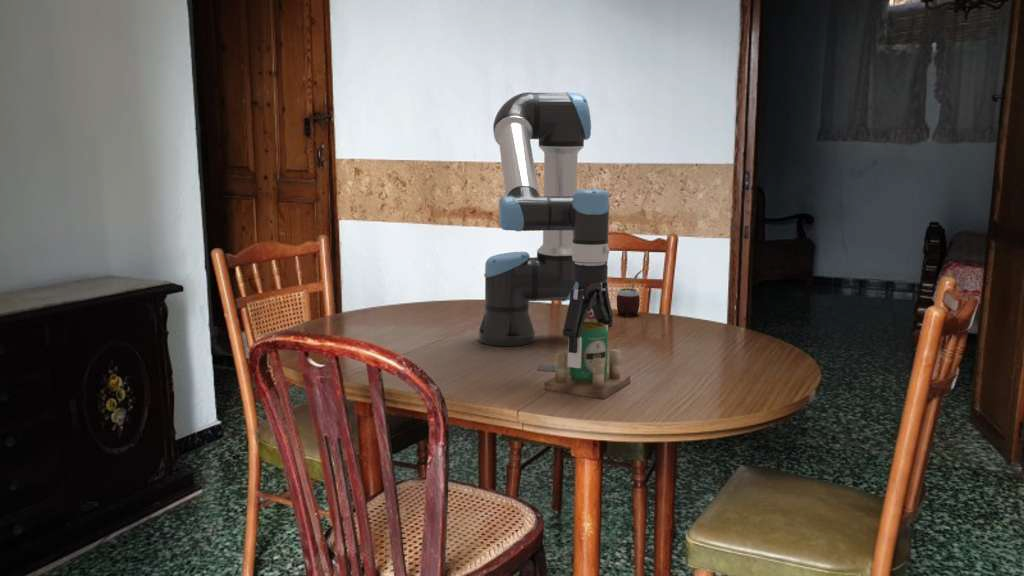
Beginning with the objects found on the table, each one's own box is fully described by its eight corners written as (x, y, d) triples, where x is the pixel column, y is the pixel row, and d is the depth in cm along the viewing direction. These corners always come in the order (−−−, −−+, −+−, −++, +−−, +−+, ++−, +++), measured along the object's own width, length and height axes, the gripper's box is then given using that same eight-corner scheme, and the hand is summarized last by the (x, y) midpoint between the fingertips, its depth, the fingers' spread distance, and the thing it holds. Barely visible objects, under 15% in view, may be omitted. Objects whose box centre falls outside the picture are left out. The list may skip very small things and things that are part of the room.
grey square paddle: (537, 372, 195) (537, 367, 194) (540, 367, 199) (540, 362, 198) (599, 376, 191) (599, 371, 191) (601, 371, 195) (601, 366, 195)
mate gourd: (616, 313, 262) (617, 265, 259) (642, 313, 261) (643, 265, 258) (615, 317, 255) (617, 268, 252) (642, 318, 253) (643, 269, 251)
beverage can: (580, 385, 178) (581, 330, 176) (563, 376, 185) (564, 322, 183) (613, 381, 181) (614, 327, 179) (595, 372, 188) (596, 319, 186)
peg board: (544, 389, 180) (544, 355, 179) (572, 374, 192) (573, 342, 191) (604, 399, 173) (605, 363, 172) (630, 382, 185) (630, 349, 184)
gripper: (580, 271, 166) (579, 376, 169) (628, 257, 187) (626, 350, 191) (547, 269, 169) (546, 370, 173) (597, 254, 191) (596, 346, 194)
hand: (588, 360), depth 182 cm, fingers open, 13 cm apart
